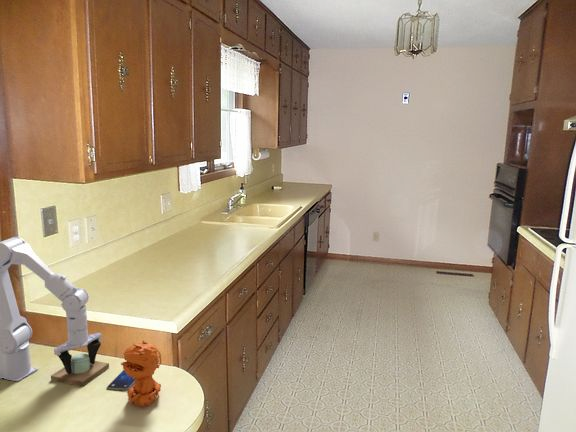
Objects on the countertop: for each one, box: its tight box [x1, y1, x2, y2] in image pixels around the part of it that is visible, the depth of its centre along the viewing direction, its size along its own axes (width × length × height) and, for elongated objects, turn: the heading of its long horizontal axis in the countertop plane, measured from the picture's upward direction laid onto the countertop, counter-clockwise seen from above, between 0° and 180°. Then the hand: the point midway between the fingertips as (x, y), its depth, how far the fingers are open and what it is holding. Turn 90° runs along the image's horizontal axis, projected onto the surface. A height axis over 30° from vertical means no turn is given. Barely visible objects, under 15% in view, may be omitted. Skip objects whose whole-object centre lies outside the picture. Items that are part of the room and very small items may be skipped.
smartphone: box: [106, 369, 136, 392], centre depth 140 cm, size 7×1×15 cm
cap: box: [71, 353, 90, 374], centre depth 142 cm, size 5×5×4 cm
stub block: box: [50, 360, 110, 387], centre depth 142 cm, size 12×12×4 cm
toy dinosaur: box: [120, 340, 162, 407], centre depth 126 cm, size 11×11×18 cm
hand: (80, 367), depth 142 cm, fingers open, 7 cm apart
